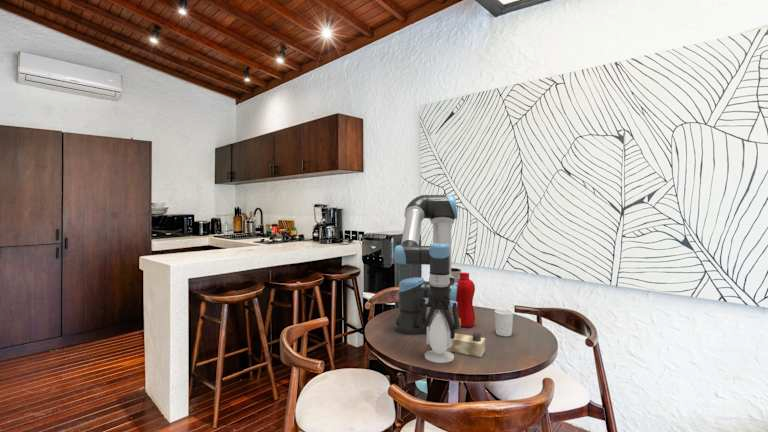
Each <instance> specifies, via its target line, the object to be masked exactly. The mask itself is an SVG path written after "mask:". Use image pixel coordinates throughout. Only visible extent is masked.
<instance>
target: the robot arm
mask: <svg viewBox="0 0 768 432" xmlns="http://www.w3.org/2000/svg"><path fill="white" fill-rule="evenodd" d="M457 208H458V207H457V201H456V197H455V196H454V195H452V194H422V195H419V196H416V197H415V198H413V199H412V200H411V201H410V202H408V204H407V205H406V206H405V209H404V218H405V220H404V226H403V227H404V228H403V231H402V232H403V233H402V236H401V237H402V238H401V244H399V245H398V244H397V245H396V246H394V253H393V259H394V263H396V264H400V265H427V266H428V265H429V277H428V281H427V280H425V278H424V277H420V276H419V277H417V276H416V277H408V278H405V279H402V280H401V281H399V285H398V314H397V316H396V320H395V324H394V329H395V331H397V332H398V333H402V334H406V335H420V334H423V333H424V335H426V345H430V342H429V330H430V326H431V322H432V321H431V320H433V317H434V313H435V311H436V310H437V311H439V310H440V311H441V312H442V311H443V312H442V313H443V316H444V317H445V319H446V320H447V322H448V325H449V328H450V329H449V330H448V348H451V347H452V339H454V337H455V333H456V331H458V330H459V329H460V328H461V327H460V323H459V317H458V310H457V306H458V302H457V301H456V295H457V286H458V283H457V282H455V278H454V277H453V276H452V275H451V268H452V225H453V224H455V220H457V219H458V209H457ZM424 219H429V221H430V222H429V223H431V224H432V226H433V227H432V243H431V244H430V245H420V241H421V232H422V231H421V229H422V221H423V220H424ZM428 308H429V311H428V314H427V309H428ZM449 308H452V312H453V314H450V312H449ZM452 317H453V319H454V323H453V320H452ZM459 327H460V328H459Z"/></svg>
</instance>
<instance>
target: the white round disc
mask: <svg viewBox="0 0 768 432" xmlns="http://www.w3.org/2000/svg"><path fill="white" fill-rule="evenodd" d="M424 358H425V359H426V360H427V361H428V362H431V363H435V364H447V363H450V362H453V361H454V360H455V355H454V354H453V353H452V352H451V351H445V352H444V353H442V354H437V353H435V351H433V350H432V349H431V350H430V349H429V350H428V351H425V353H424Z"/></svg>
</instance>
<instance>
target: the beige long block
mask: <svg viewBox="0 0 768 432" xmlns="http://www.w3.org/2000/svg"><path fill="white" fill-rule="evenodd" d="M481 335H482V333H480V332H478V331H475V332H473V333H472V335H469V334H462V333H457V332H455V337H454V339H452V347H451V348H447V350H446V351H449V352H451V353H452V352H453V353H457V354H464V355H467V356H472V357H478V358H482V356H483V355H484V353H485V352H486V338H485V337H481Z"/></svg>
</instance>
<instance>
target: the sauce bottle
mask: <svg viewBox="0 0 768 432" xmlns="http://www.w3.org/2000/svg"><path fill="white" fill-rule="evenodd" d="M433 317H434V318H432V321H431V322H430V325H431V326H430V330H429V342H430V343H429V346H430V348H431V350H433V351H435V353H437V354H442V353H444V352H445V351H446V350H447V348H448V330H449V327H448V324H447V321H446V317H445V315H444V313H443V312H442V311H441V310H439V309H438V311H437V312H436V313H435V315H434V316H433Z"/></svg>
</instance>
